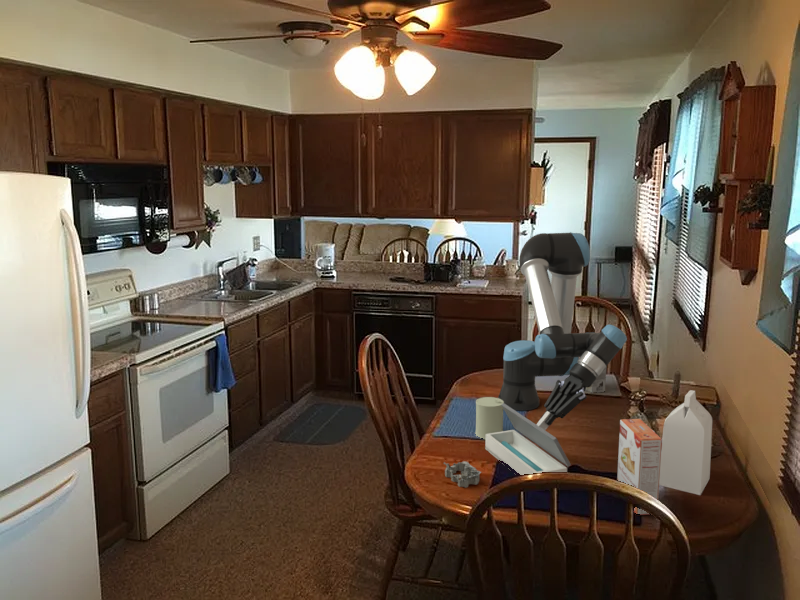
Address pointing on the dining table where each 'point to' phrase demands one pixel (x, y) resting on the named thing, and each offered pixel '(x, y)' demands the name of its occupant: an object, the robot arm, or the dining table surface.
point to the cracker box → (639, 457)
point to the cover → (536, 434)
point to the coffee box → (598, 383)
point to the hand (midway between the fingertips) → (537, 431)
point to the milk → (686, 447)
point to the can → (488, 416)
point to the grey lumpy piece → (462, 473)
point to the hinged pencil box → (520, 453)
